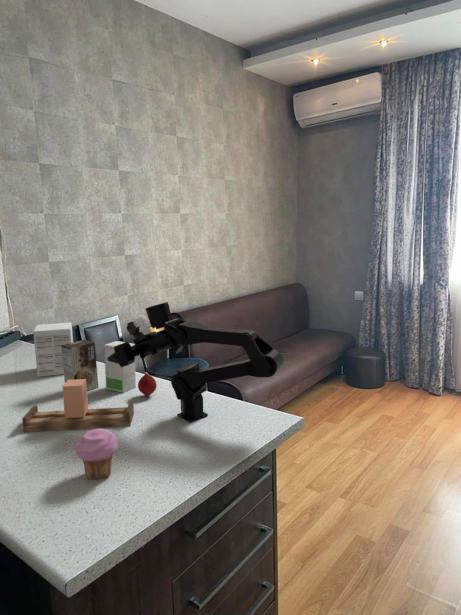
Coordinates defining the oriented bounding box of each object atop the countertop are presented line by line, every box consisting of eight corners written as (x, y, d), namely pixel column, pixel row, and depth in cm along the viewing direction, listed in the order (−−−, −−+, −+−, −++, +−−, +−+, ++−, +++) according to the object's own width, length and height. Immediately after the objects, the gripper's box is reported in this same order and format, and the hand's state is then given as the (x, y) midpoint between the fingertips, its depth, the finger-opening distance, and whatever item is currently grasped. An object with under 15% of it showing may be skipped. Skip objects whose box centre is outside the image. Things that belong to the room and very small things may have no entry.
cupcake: (76, 487, 93) (73, 442, 92) (79, 467, 101) (75, 425, 100) (120, 481, 95) (118, 436, 94) (119, 461, 104) (117, 420, 102)
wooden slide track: (133, 413, 132) (133, 400, 131) (130, 426, 123) (129, 412, 122) (34, 418, 129) (33, 405, 128) (23, 432, 120) (22, 418, 120)
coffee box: (88, 383, 158) (84, 339, 156) (99, 387, 154) (95, 341, 152) (64, 391, 151) (60, 344, 149) (75, 395, 147) (71, 347, 145)
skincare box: (105, 389, 152) (102, 344, 150) (118, 383, 158) (116, 340, 155) (124, 393, 148) (121, 347, 146) (137, 387, 154) (135, 342, 152)
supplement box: (40, 367, 179) (36, 324, 177) (75, 364, 183) (71, 321, 180) (36, 377, 167) (32, 331, 164) (74, 373, 171) (70, 328, 168)
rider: (88, 412, 128) (86, 379, 127) (84, 419, 123) (81, 385, 121) (70, 412, 128) (67, 379, 126) (65, 421, 122) (62, 386, 121)
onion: (158, 393, 148) (157, 369, 146) (154, 399, 142) (153, 375, 141) (141, 392, 148) (140, 369, 147) (136, 399, 143) (134, 375, 141)
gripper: (166, 310, 137) (127, 324, 144) (129, 321, 121) (87, 336, 127) (178, 344, 138) (139, 356, 144) (143, 360, 121) (101, 373, 127)
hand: (117, 355), depth 136 cm, fingers open, 9 cm apart
